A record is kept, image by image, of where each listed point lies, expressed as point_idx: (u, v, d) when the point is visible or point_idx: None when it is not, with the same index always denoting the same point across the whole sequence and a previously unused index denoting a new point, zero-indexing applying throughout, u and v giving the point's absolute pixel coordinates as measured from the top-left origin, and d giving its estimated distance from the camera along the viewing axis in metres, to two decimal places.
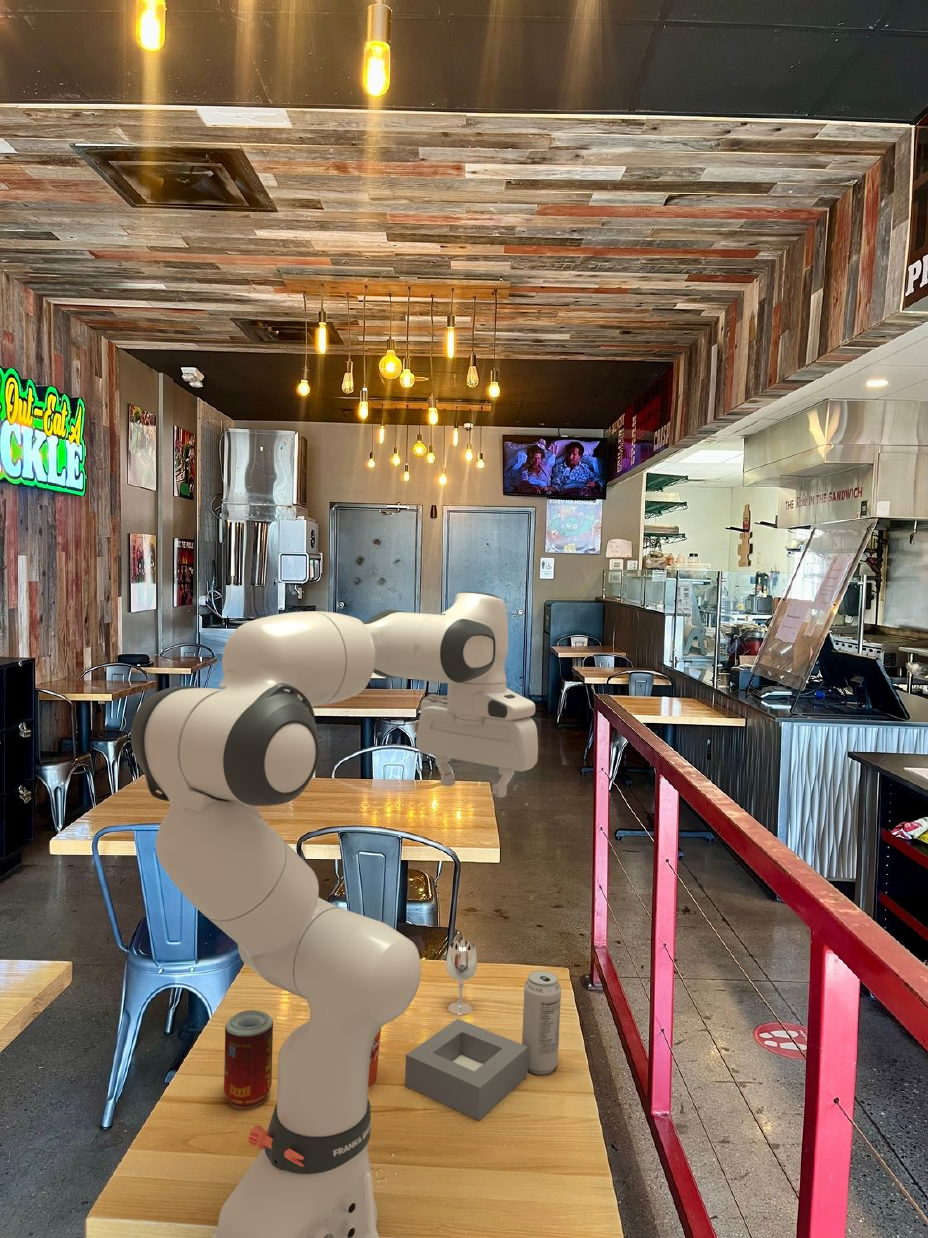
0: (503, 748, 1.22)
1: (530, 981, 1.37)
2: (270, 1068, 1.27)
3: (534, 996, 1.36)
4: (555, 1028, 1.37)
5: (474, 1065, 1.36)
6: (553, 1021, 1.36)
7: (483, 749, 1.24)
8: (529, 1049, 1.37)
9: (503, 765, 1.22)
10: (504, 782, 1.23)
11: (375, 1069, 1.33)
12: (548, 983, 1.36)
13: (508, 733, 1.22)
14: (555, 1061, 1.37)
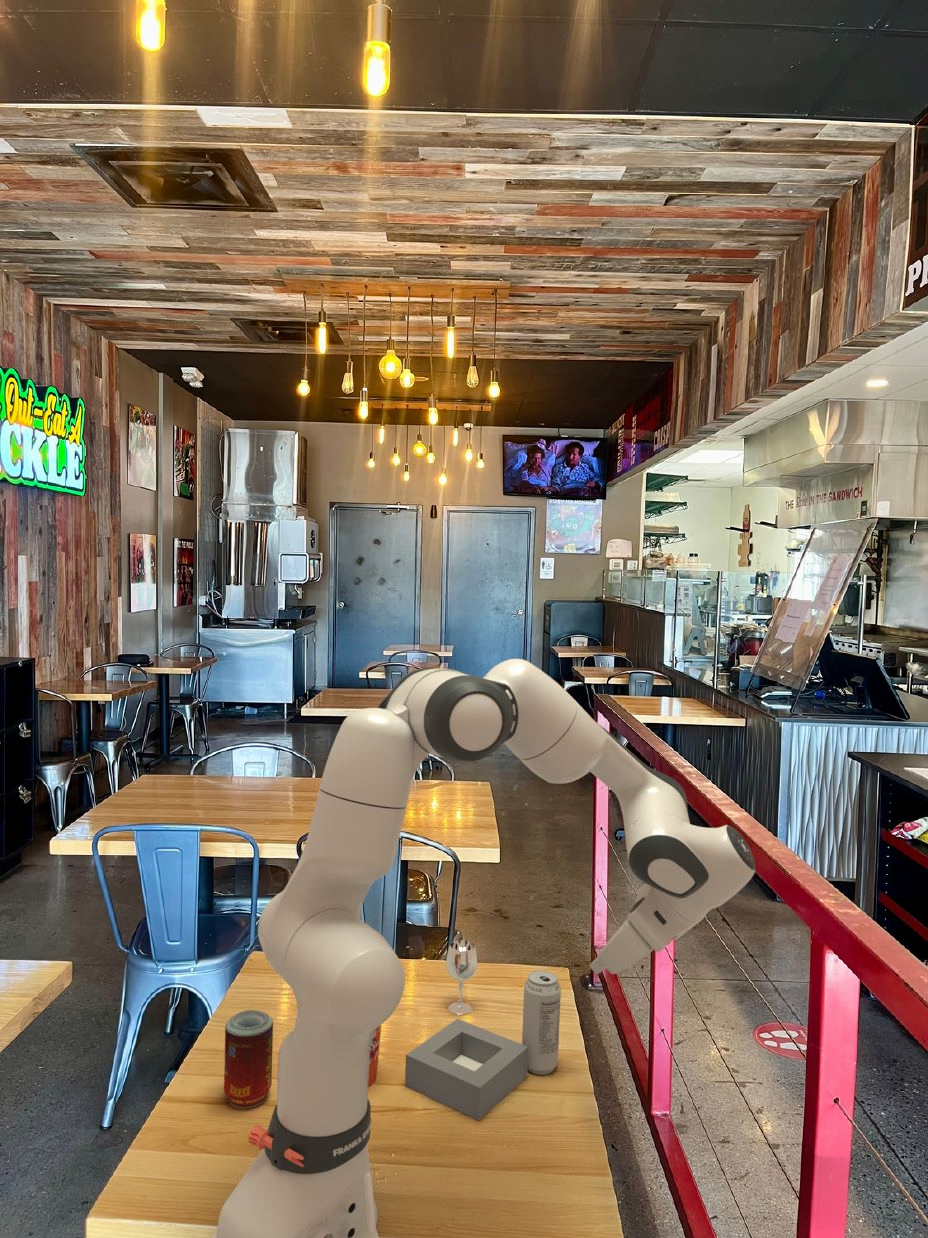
0: None
1: (530, 981, 1.37)
2: (270, 1068, 1.27)
3: (534, 996, 1.36)
4: (555, 1028, 1.37)
5: (474, 1065, 1.36)
6: (552, 1021, 1.36)
7: None
8: (529, 1049, 1.37)
9: None
10: (599, 960, 1.27)
11: (375, 1069, 1.33)
12: (548, 983, 1.36)
13: None
14: (555, 1061, 1.37)
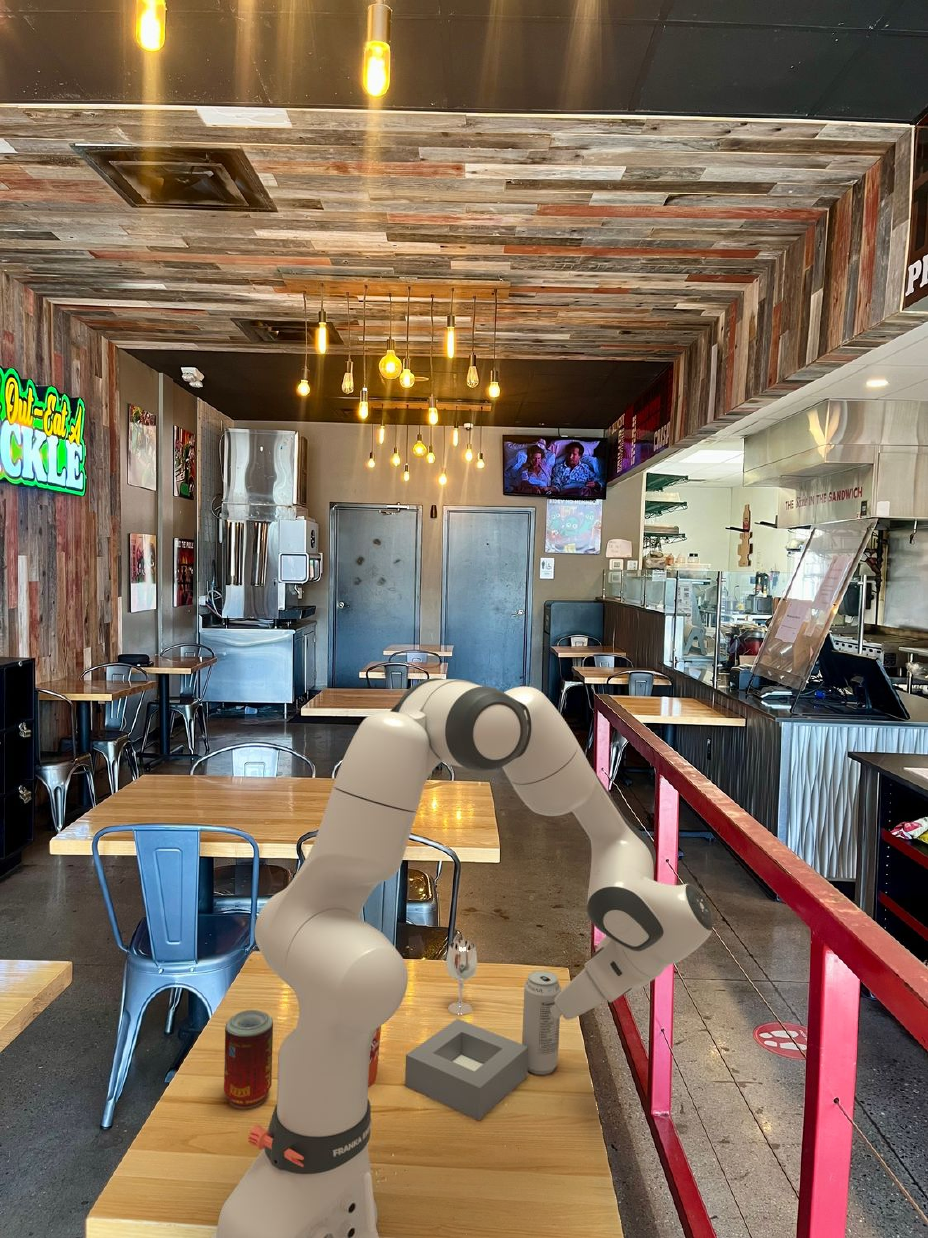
0: None
1: (530, 981, 1.37)
2: (270, 1068, 1.27)
3: (534, 996, 1.36)
4: (555, 1028, 1.37)
5: (474, 1065, 1.36)
6: (553, 1021, 1.36)
7: None
8: (529, 1049, 1.37)
9: None
10: None
11: (375, 1069, 1.33)
12: (548, 983, 1.36)
13: None
14: (555, 1061, 1.37)
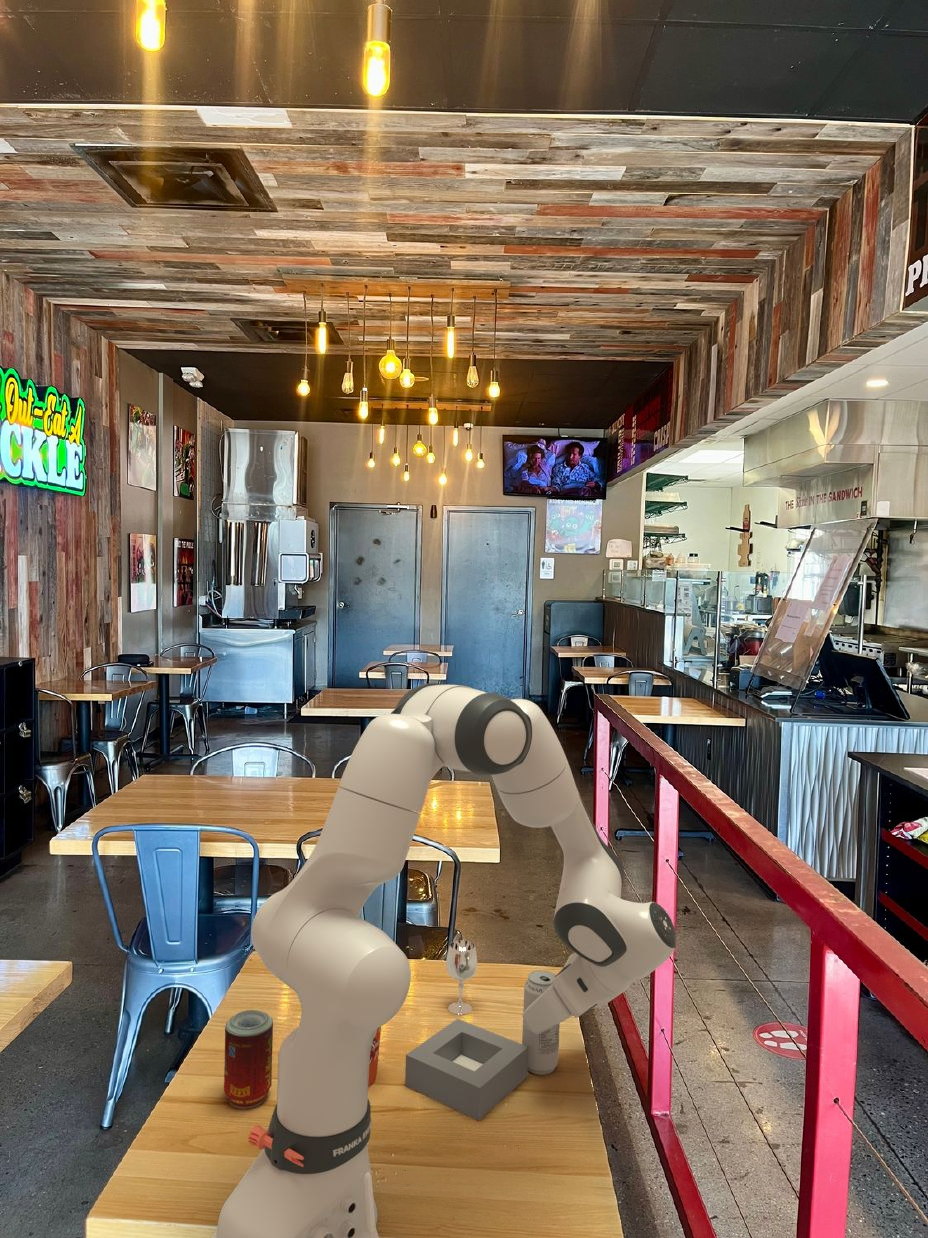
0: None
1: (530, 981, 1.37)
2: (270, 1068, 1.27)
3: (534, 996, 1.36)
4: (555, 1028, 1.37)
5: (474, 1065, 1.36)
6: None
7: None
8: (529, 1049, 1.37)
9: None
10: None
11: (375, 1069, 1.33)
12: (548, 983, 1.36)
13: None
14: (555, 1061, 1.37)
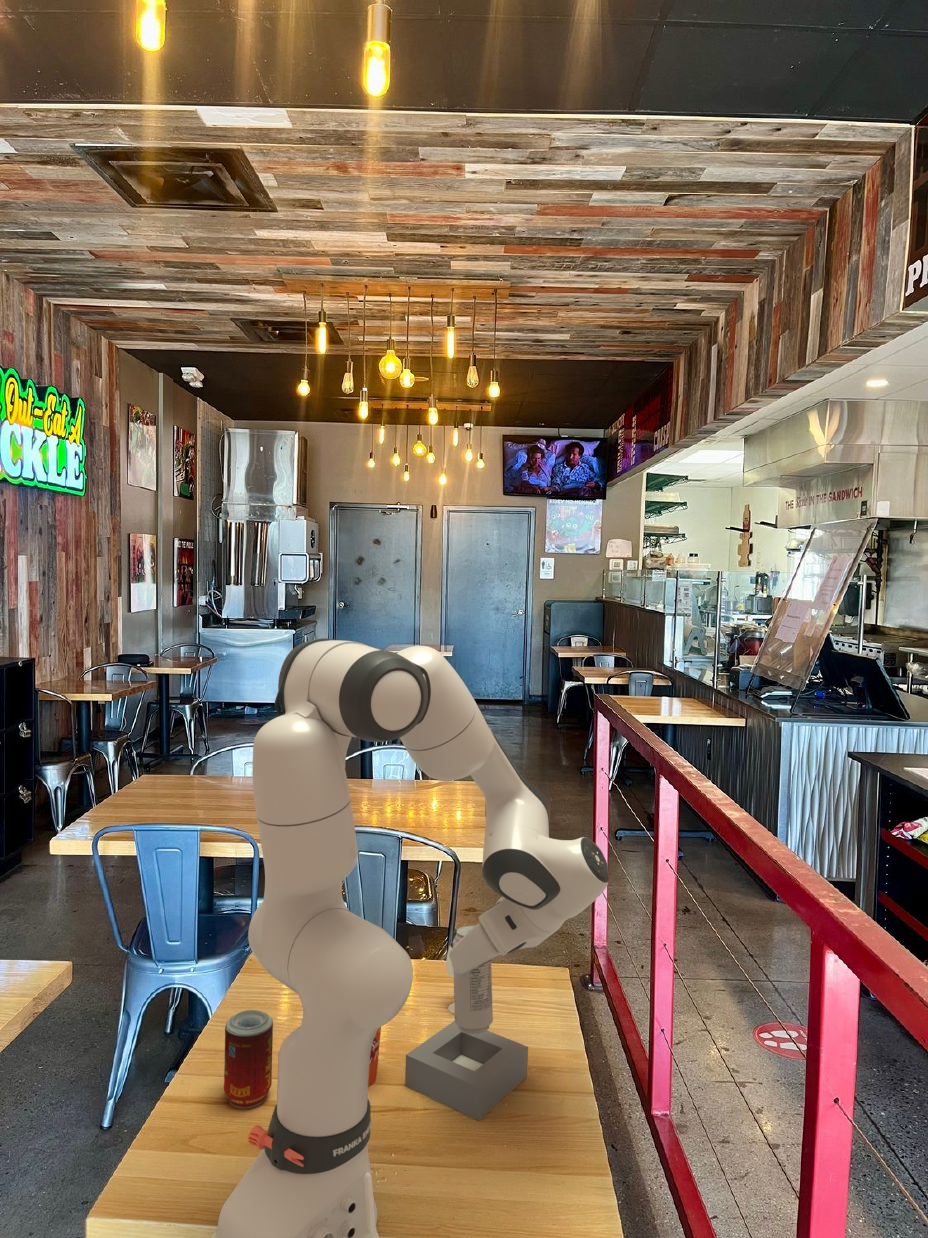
0: None
1: (458, 935, 1.32)
2: (270, 1068, 1.27)
3: None
4: (486, 982, 1.31)
5: (474, 1065, 1.36)
6: (483, 975, 1.31)
7: None
8: (461, 1007, 1.31)
9: None
10: None
11: (375, 1069, 1.33)
12: None
13: None
14: (489, 1019, 1.31)
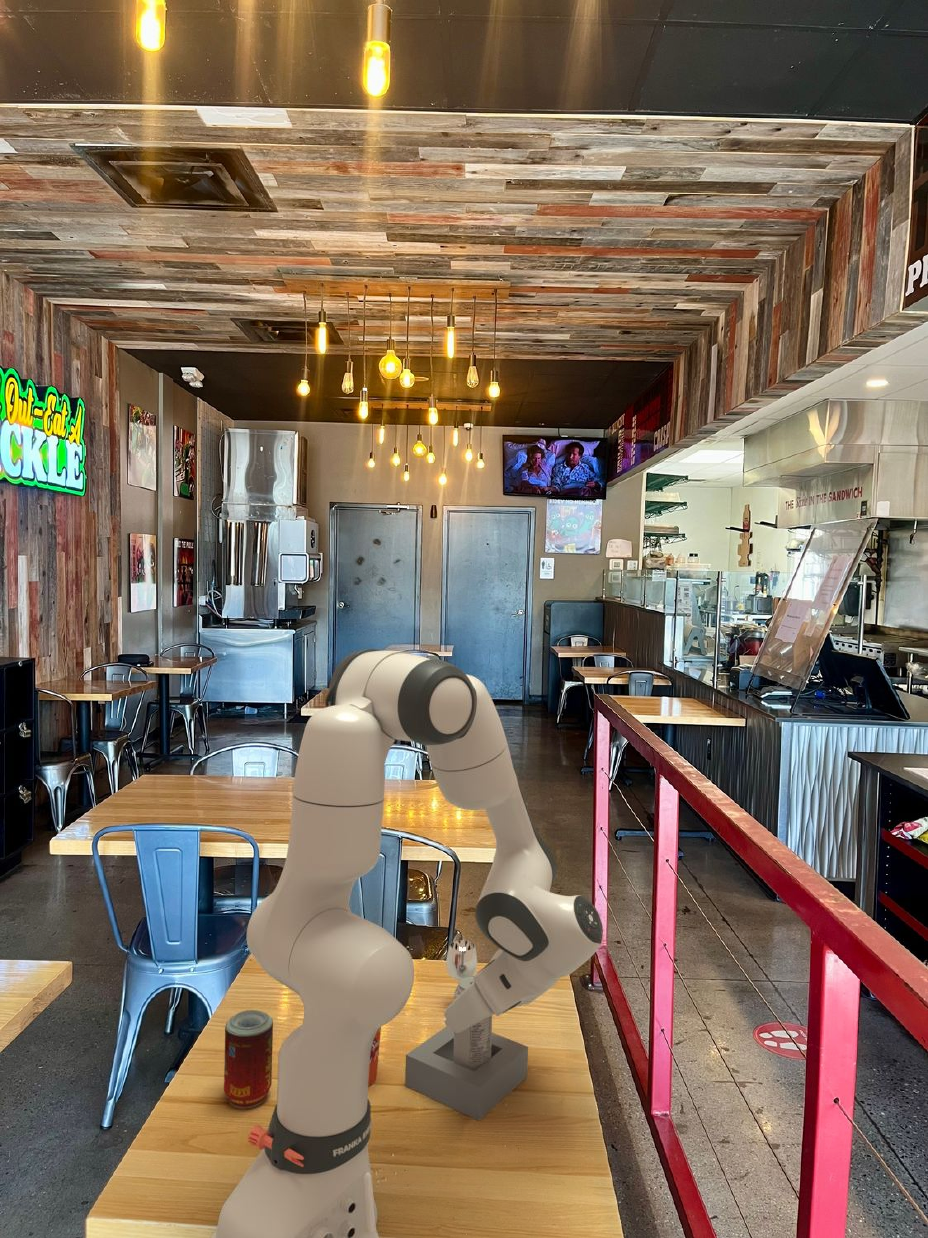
0: None
1: (460, 987, 1.32)
2: (270, 1068, 1.27)
3: None
4: (486, 1035, 1.31)
5: None
6: (484, 1028, 1.31)
7: None
8: (460, 1058, 1.31)
9: None
10: None
11: (375, 1069, 1.33)
12: None
13: None
14: None
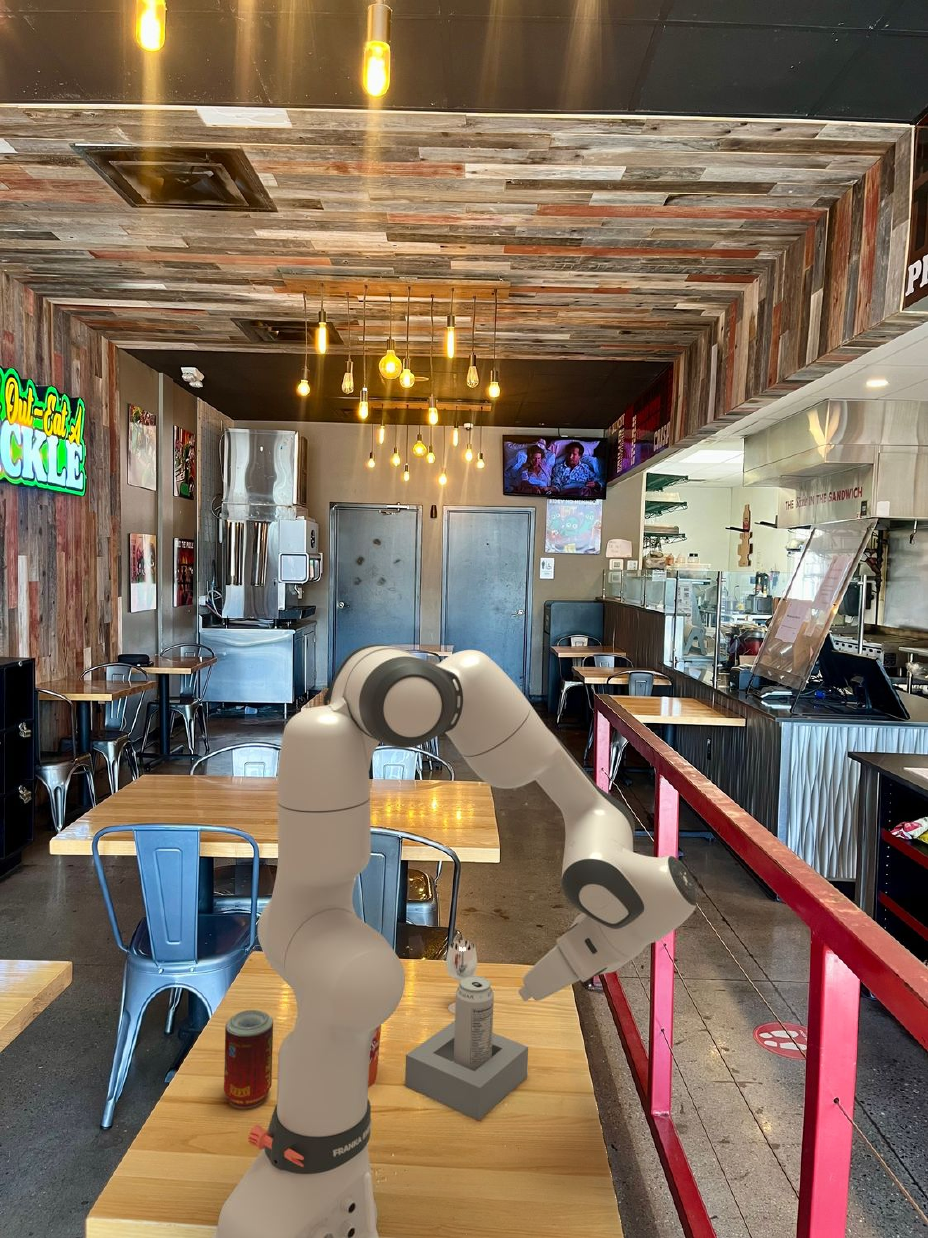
0: None
1: (461, 987, 1.32)
2: (270, 1068, 1.27)
3: (465, 1003, 1.30)
4: (487, 1035, 1.31)
5: None
6: (485, 1028, 1.31)
7: None
8: (461, 1058, 1.31)
9: None
10: None
11: (375, 1069, 1.33)
12: (480, 989, 1.31)
13: None
14: None
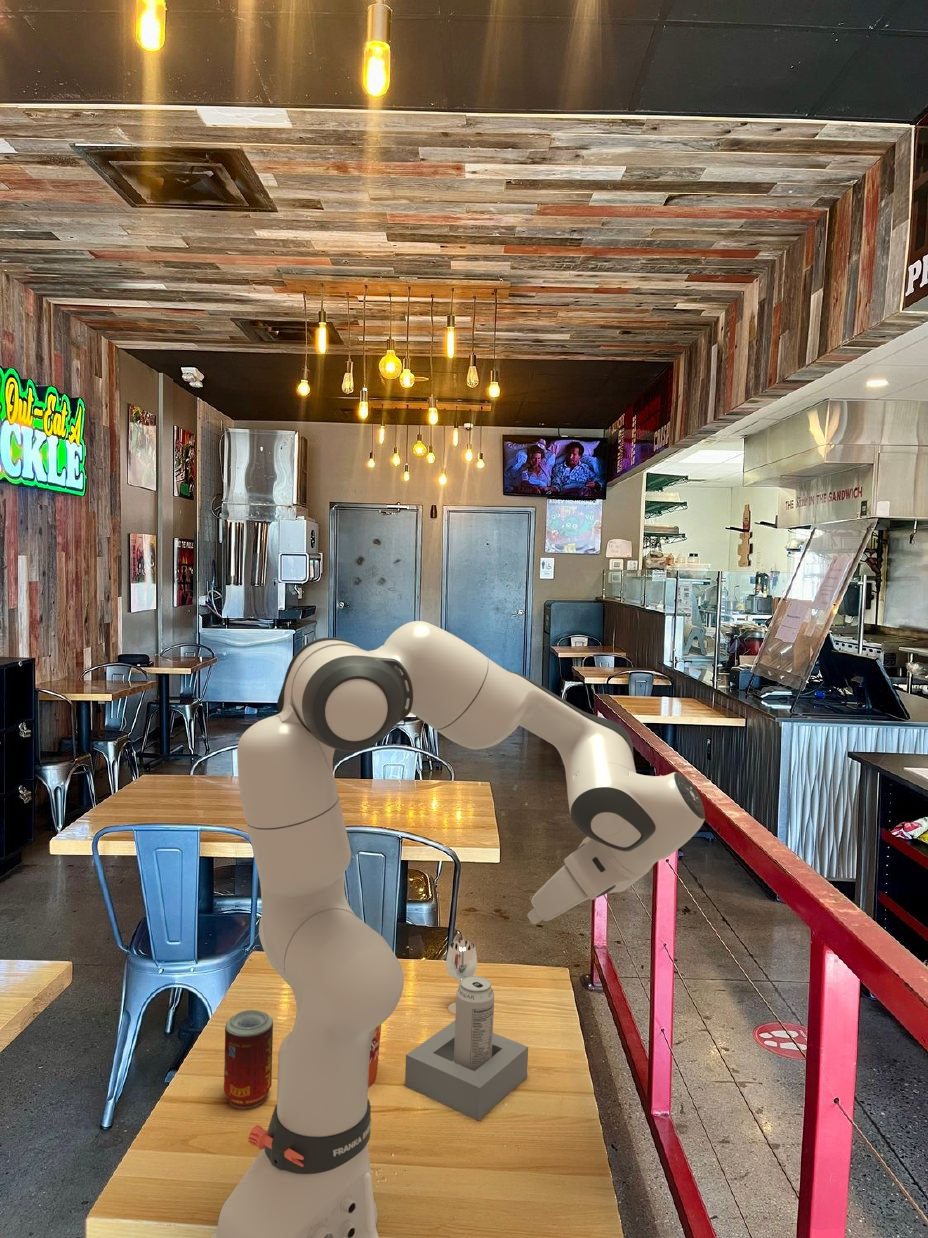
0: None
1: (462, 987, 1.32)
2: (270, 1068, 1.27)
3: (465, 1003, 1.30)
4: (487, 1036, 1.31)
5: None
6: (485, 1029, 1.31)
7: None
8: (461, 1058, 1.31)
9: None
10: None
11: (375, 1069, 1.33)
12: (480, 989, 1.31)
13: None
14: None
